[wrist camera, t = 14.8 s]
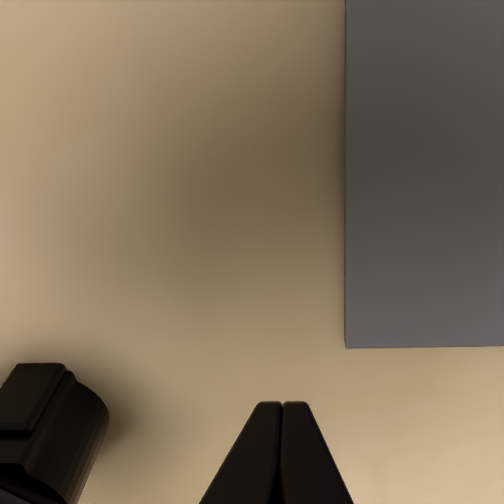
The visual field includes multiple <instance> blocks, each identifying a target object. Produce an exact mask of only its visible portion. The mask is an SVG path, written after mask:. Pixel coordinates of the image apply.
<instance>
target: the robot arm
mask: <svg viewBox="0 0 504 504" xmlns="http://www.w3.org/2000/svg"><path fill="white" fill-rule="evenodd" d="M108 425H109V413H108V410H107V408H106V406H105V404H104V402H103V401H102V400H101V398H100V397H99V396H98V395H96V394H95V393H94V392H93V391H92V390H90V389H89V388H88V387H86V386H84V385H82V384H81V383H79V382H77V380H76V378H75V375H74V374H73V373H72V372H71V371H66V369H65V367H64V365H62V364H18V365H16V367H15V368H14V369H13V371H12V372H11V374H10V375H9V376H8V378H7V379H6V381H5V382H4V384H3V385H2V386H1V388H0V504H77V503H78V501H79V498H80V496H81V493H82V491H83V488H84V486H85V484H86V481H87V479H88V476H89V474H90V471H91V469H92V466H93V464H94V461H95V459H96V456H97V454H98V452H99V449H100V447H101V443H102V440H103V438H104V435H105V433H106V430H107V428H108ZM199 504H354V503H353V501H352V498H351V496H350V494H349V492H348V490H347V488H346V485H345V483H344V481H343V479H342V477H341V475H340V472H339V470H338V468H337V466H336V464H335V461H334V459H333V457H332V455H331V453H330V451H329V448H328V446H327V444H326V442H325V440H324V438H323V435H322V433H321V431H320V429H319V427H318V425H317V422H316V420H315V418H314V416H313V414H312V412H311V409H310V407H309V405H308V404H307V403H306V402H304V401H287V402H285V403H284V404H283V405H282V403H281V402H278V401H262V402H259V403H258V404H257V405H256V407H255V408H254V410H253V412H252V413H251V415H250V417H249V419H248V420H247V422H246V424H245V426H244V427H243V429H242V431H241V432H240V434H239V436H238V438H237V439H236V441H235V443H234V444H233V446H232V448H231V450H230V451H229V453H228V455H227V456H226V458H225V460H224V462H223V463H222V465H221V467H220V468H219V470H218V472H217V474H216V475H215V477H214V479H213V480H212V482H211V484H210V486H209V487H208V489H207V491H206V492H205V494H204V496H203V498H202V499H201V501H200V503H199Z"/></svg>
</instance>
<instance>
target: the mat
mask: <svg viewBox="0 0 504 504" xmlns="http://www.w3.org/2000/svg"><path fill="white" fill-rule="evenodd" d="M485 346H504V0H345V348H346V349H352V348H418V347H485Z"/></svg>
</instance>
